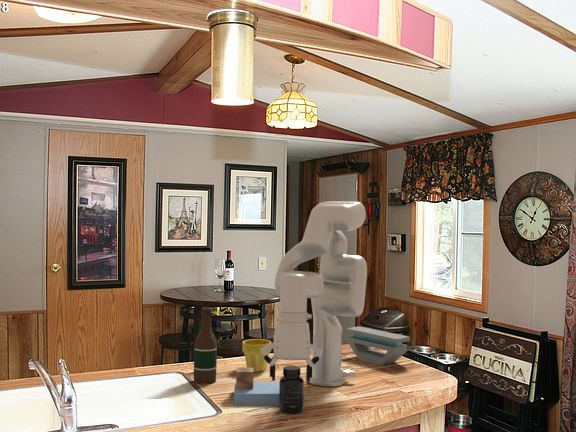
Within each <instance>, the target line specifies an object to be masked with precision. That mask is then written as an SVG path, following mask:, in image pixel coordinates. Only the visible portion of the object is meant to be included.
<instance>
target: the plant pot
mask: <svg viewBox="0 0 576 432" xmlns="http://www.w3.org/2000/svg"><path fill="white" fill-rule="evenodd" d="M271 343H272V341H271V340H269V339H264V338H251V339H245V340H243V341H242V344H241V345H242V346H241V347H242V350H241V351H242V352H243V354H244V358H245V363H246V368H253V371H254V372H258V373H259V372H264V371H266V369H267V365H268V363H267V361H266V360H265V359H264V357H263V355H262V353H261V348H263V347H265V346H267V345H269V344H271ZM271 352H272V349H271V350H269V351H267V355H268V356H269V357H270V353H271Z"/></svg>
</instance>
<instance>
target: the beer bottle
mask: <svg viewBox="0 0 576 432" xmlns="http://www.w3.org/2000/svg"><path fill="white" fill-rule="evenodd" d="M200 311H201V319H200V329H199V332H198V334H197V335H196V338H195V340H194V347H193V348H194V349H193V382H194V383H195V384H197V385H211V384H214V383H216V381H217V362H218V360H217V359H218V358H217V356H218V344H217V339H216V336H215V334H214V333H213V327H212V325H213V324H212V312H213V309H212V307H211V306H203V307H201V310H200Z"/></svg>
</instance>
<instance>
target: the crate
mask: <svg viewBox="0 0 576 432" xmlns="http://www.w3.org/2000/svg"><path fill="white" fill-rule="evenodd" d="M254 372H255V371H253V368H247V367H236V376H235V378H236V379H235V380H236V381H235V382H236V389H253V382H254V375H255V374H254Z"/></svg>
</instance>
